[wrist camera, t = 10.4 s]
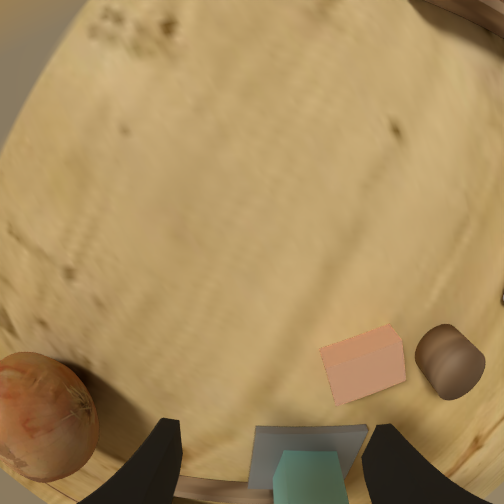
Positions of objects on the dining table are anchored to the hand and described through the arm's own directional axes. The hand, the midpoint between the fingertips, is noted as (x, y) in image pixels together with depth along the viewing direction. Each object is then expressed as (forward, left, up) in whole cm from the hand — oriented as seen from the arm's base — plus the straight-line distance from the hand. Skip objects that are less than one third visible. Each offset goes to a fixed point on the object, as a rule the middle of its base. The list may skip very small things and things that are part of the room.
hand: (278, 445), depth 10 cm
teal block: (-5, +14, -9) cm, 17 cm away
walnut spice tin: (-13, +2, -10) cm, 16 cm away
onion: (+16, +8, -10) cm, 21 cm away
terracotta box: (-7, +3, -10) cm, 12 cm away
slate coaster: (-5, +14, -10) cm, 18 cm away
